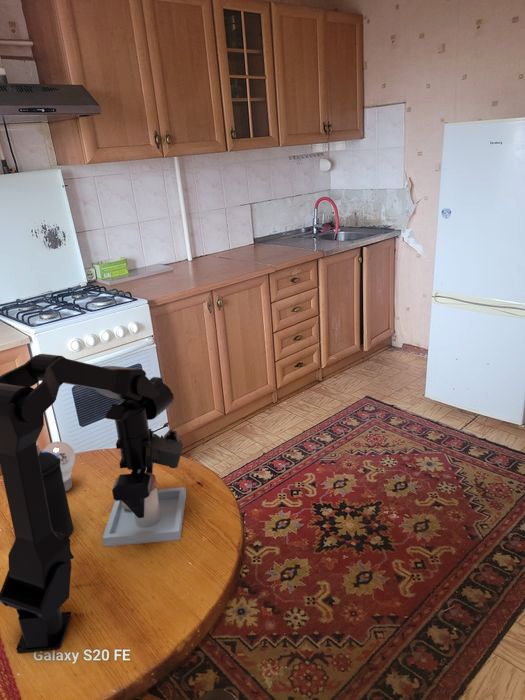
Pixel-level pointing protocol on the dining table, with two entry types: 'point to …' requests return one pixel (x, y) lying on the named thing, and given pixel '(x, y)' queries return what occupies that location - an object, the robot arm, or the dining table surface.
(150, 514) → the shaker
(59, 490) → the aerosol can
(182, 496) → the dish
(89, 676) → the dining table surface
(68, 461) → the light bulb
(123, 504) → the cork ball
